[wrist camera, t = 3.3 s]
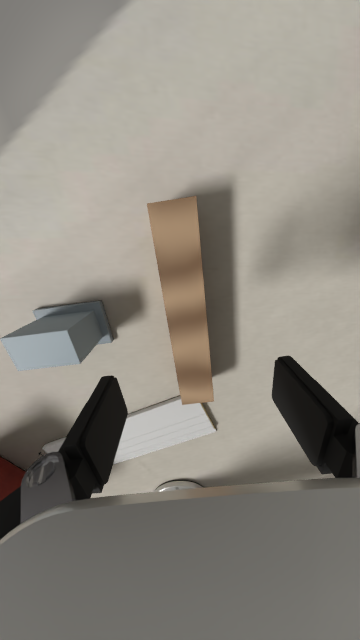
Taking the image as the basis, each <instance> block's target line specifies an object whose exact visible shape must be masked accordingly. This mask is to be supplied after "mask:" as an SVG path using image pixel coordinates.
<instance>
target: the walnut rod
mask: <svg viewBox="0 0 360 640" xmlns="http://www.w3.org/2000/svg"><path fill="white" fill-rule="evenodd" d="M147 207H148V213H149V218H150V224H151V230H152V236H153V241H154V247H155V253H156V258H157V264H158V270H159V276H160V281H161V287H162V293H163V298H164V304H165V310H166V316H167V321H168V327H169V333H170V339H171V344H172V350H173V356H174V361H175V367H176V373H177V379H178V384H179V390H180V396H181V401H182V405H186V404H195V403H204V402H213V401H214V397H213V385H212V374H211V362H210V350H209V339H208V327H207V316H206V304H205V292H204V281H203V269H202V257H201V246H200V234H199V223H198V211H197V199H196V196H193V197H186V198H180V199H174V200H167V201H161V202H155V203H148V204H147Z"/></svg>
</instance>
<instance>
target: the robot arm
mask: <svg viewBox="0 0 360 640" xmlns="http://www.w3.org/2000/svg"><path fill="white" fill-rule="evenodd" d="M272 398H273V401H274V403H275V404H276V406H277V408H278V409H279V411H280V413H281V414H282V416H283V418H284V419H285V421H286V422H287V424H288V426H289V427H290V429H291V431H292V432H293V434H294V436H295V437H296V439H297V441H298V442H299V444H300V446H301V447H302V449H303V450H304V452H305V454H306V455H307V457H308V459H309V460H310V462H311V463H312V464H313V465H314V466H317V468H318V469H319V471H320V472H321V474H330V473H333V475H334V476H335V478H327V479H310V480H294V481H281V482H268V483H256V484H243V485H231V486H218V487H206V488H203V487H202V486H200V485H198V484H196V483H193V482H189V481H172V482H168V483H165V484H163V485H161V486H159V487H158V488H157V489H156V490H155V491H154V492H149V493H137V494H126V495H117V496H108V497H99V498H90V497H91V494H92V493H101V492H102V489H103V486H104V484H106V483H107V482H108V479H109V476H110V473H111V469H112V466H113V462H114V459H115V456H116V452H117V449H118V446H119V442H120V439H121V435H122V432H123V429H124V425H125V422H126V419H127V414H128V412H127V407H126V404H125V401H124V398H123V395H122V393H121V390H120V387H119V384H118V381H117V378H114V376H103V377H102V378H101V379H100V381H99V383H98V385H97V386H96V388H95V390H94V392H93V393H92V395H91V397H90V398H89V400H88V402H87V403H86V404H85V406H84V408H83V409H82V411H81V413H80V415H79V416H78V418H77V420H76V421H75V423H74V425H73V427H72V428H71V430H70V432H69V433H68V435H67V437H66V439H65V440H64V442H63V444H62V446H61V447H60V449H59V451H58V452H51V453H47V454H46V455H44V456H42V457H40V458H39V459H38V460H36V461H35V462H34V463H33V464H32V465H31V466H30V467H29V469H28V470H27V471H26V473H25V475H24V477H23V479H22V482H21V486H20V487H19V488H17V489H16V490H15V491H13V492H12V493H11V494H9V495H8V496H7V497H5V498H4V499H3V500H1V501H0V640H360V423H358V422H357V421H356V420H355V419H354V418H353V417H352V416H351V415H350V414H349V413H348V412H347V411H346V410H345V409H344V408H343V407H342V406H341V405H340V404H339V403H338V402H337V401H336V400H335V399H334V398H333V397H332V396H331V395H330V394H329V393H328V392H327V391H326V390H325V389H324V388H323V387H322V386H321V385H320V384H319V383H318V382H317V381H316V380H314V379H313V378H312V377H311V376H310V375H309V374H308V373H307V372H306V371H305V370H304V369H303V368H302V367H301V366H300V365H299V364H298V363H297V362H296V361H295V360H294V359H293V358H292V357H291V356H283V357H278V360H275V367H274V378H273V388H272Z"/></svg>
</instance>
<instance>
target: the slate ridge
mask: <svg viewBox="0 0 360 640" xmlns="http://www.w3.org/2000/svg"><path fill="white" fill-rule="evenodd" d="M33 313H34V315H35V317H36V321H34V322H32V323H30V324H28V325H26V326H24V327H22V328H20V329H18V330H16V331H14V332H12V333H10V334H8V335H6V336H4V337H2V338H0V340H1V341H2V343H3V345H4V347H5V348H6V350H7V352H8V354H9V356H10V357H11V359H12V361H13V363H14V364H15V366H16V368H17V370H18V371H22V370H30V369H39V368H48V367H56V366H65V365H73V364H80V363H81V362H82V361H83V360H84V359H85V358H86V356H87V355H88V354H89V353H90V352H91V350H92V349H93V348H94V347H95V346H96V345H97V344H104V343H112V341H113V337H112V333H111V330H110V327H109V323H108V320H107V317H106V313H105V310H104V307H103V303H102V300H101V301H93V302H86V303H78V304H70V305H63V306H55V307H47V308H40V309H35V310H33Z"/></svg>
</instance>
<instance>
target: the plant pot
mask: <svg viewBox="0 0 360 640" xmlns="http://www.w3.org/2000/svg"><path fill="white" fill-rule="evenodd" d="M25 473H26V472H25V471H23V470H22V469H20V468H18V467H17V466H15V465H13V464H12V463H10V462H8V461H7V460H5V459H3V458H1V457H0V501H1V500H3V499H4V498H5V497H7V496H8V495H9V494H11V493H12V492H13V491H15V490H16V489H17V488H19V487H20V486H21V482H22V479H23V477H24V475H25Z"/></svg>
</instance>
